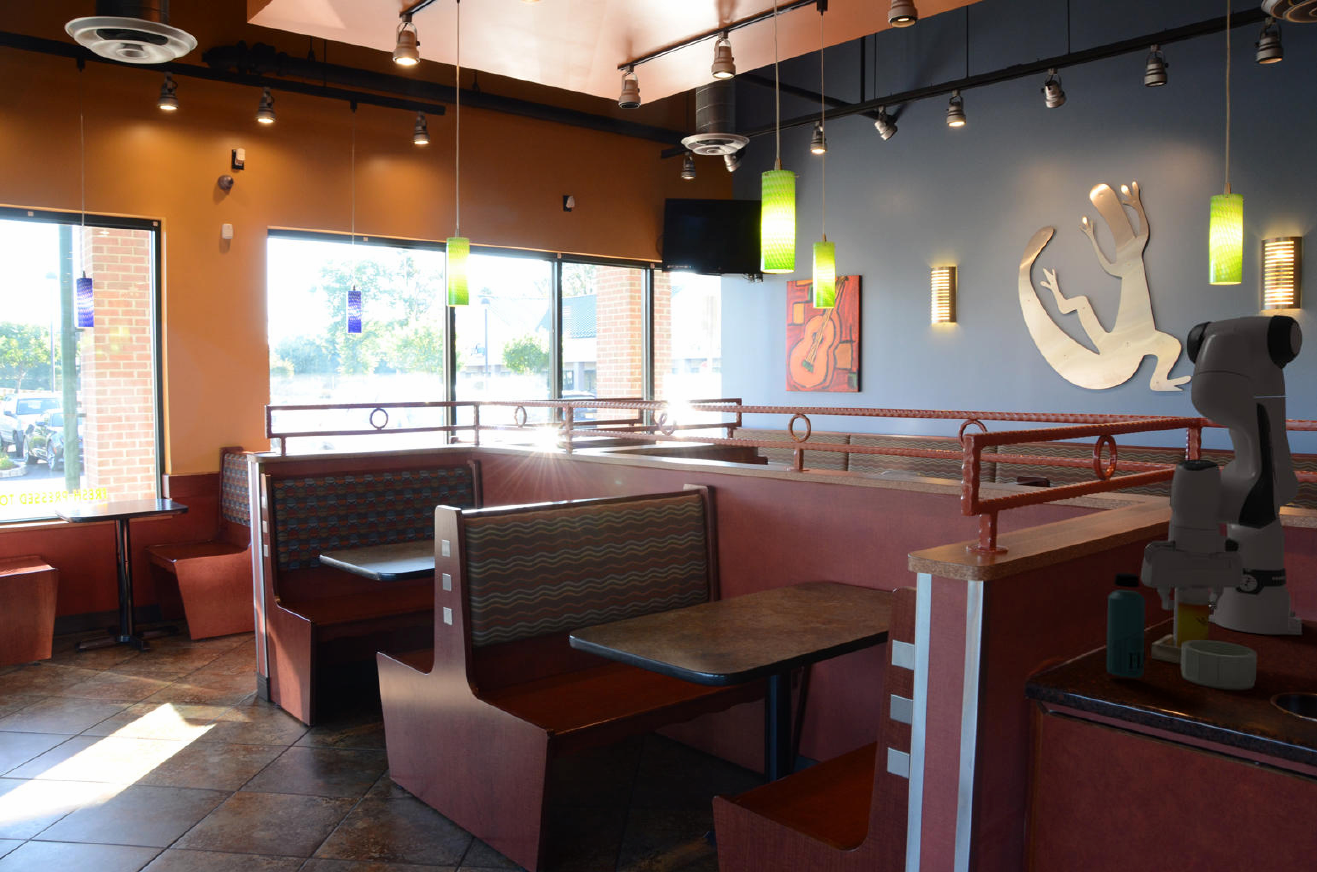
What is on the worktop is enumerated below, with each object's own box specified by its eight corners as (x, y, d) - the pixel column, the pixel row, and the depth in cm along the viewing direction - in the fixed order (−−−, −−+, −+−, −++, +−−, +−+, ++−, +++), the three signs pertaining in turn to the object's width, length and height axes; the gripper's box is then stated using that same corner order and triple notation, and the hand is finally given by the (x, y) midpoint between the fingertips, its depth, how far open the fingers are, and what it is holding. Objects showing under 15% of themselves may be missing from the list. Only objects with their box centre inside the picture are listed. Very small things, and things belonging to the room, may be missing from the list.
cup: (1192, 667, 181) (1193, 636, 181) (1261, 680, 173) (1262, 648, 173) (1173, 679, 173) (1174, 647, 173) (1244, 694, 165) (1246, 660, 165)
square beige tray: (1169, 648, 195) (1169, 631, 195) (1228, 658, 187) (1229, 641, 187) (1151, 658, 187) (1151, 640, 187) (1212, 670, 180) (1213, 651, 179)
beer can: (1212, 663, 184) (1214, 588, 183) (1178, 661, 185) (1181, 587, 184) (1200, 655, 190) (1203, 582, 189) (1168, 653, 191) (1170, 581, 190)
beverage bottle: (1129, 687, 168) (1132, 578, 167) (1096, 677, 174) (1099, 572, 173) (1152, 682, 171) (1155, 575, 170) (1119, 673, 177) (1122, 569, 176)
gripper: (1156, 543, 182) (1152, 613, 182) (1250, 543, 185) (1246, 612, 185) (1135, 538, 188) (1132, 605, 189) (1226, 538, 191) (1222, 605, 192)
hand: (1189, 609), depth 187 cm, fingers open, 8 cm apart
